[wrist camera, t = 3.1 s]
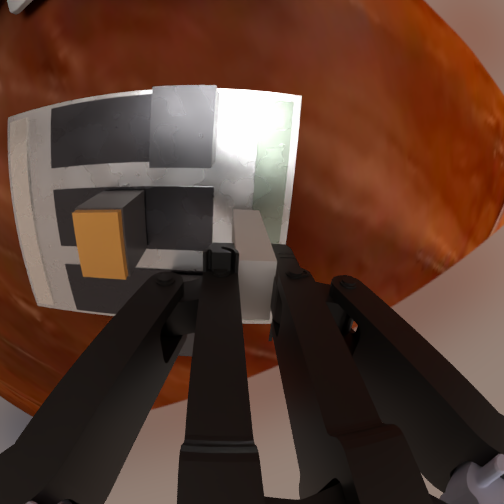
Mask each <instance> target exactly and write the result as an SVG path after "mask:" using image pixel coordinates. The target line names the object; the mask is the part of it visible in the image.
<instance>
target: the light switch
mask: <svg viewBox="0 0 504 504" xmlns="http://www.w3.org/2000/svg"><path fill="white" fill-rule="evenodd" d="M32 1H33V0H7V2H8V6H9V10H10V12H11V13H14V14H18V13H20V12H21V11H22V10H23V9H24V8H25V7H26V6H27V5H28V4H29V3H31V2H32Z"/></svg>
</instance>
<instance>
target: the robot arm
mask: <svg viewBox="0 0 504 504" xmlns="http://www.w3.org/2000/svg"><path fill="white" fill-rule="evenodd" d="M270 312H271V313H272V322H271V329H270V335H269V341H272V337H273V340H274V345H275V350H276V355H277V360H278V365H279V369H280V374H281V379H282V384H283V389H284V394H285V399H286V404H287V409H288V414H289V419H290V424H291V429H292V434H293V439H294V444H295V449H296V454H297V459H298V464H299V469H300V483H299V495H300V500H291V499H281V498H272V497H264V492H263V484H262V476H261V467H260V460H259V453H258V449H257V446H256V445H255V444H254V439H253V432H252V422H251V412H250V402H249V392H248V381H247V370H246V360H245V349H244V337H243V326H242V320H269V319H270ZM353 321H355V322H356V323H357V325H358V327H357V330H356V332H355V331H354V330H353V329H352V328H351V327H352V324H353ZM191 333H195V335H194V344H193V353H192V362H191V372H190V382H189V392H188V404H187V417H186V430H185V440H184V443H183V444H182V445H181V449H180V456H179V470H178V491H177V492H178V493H177V504H504V416H503V415H502V414H500V413H498V411H497V410H496V409H495V408H494V407H493V406H492V405H491V404H490V403H489V402H488V401H487V400H486V399H485V398H484V397H483V396H482V394H481V393H479V391H478V390H477V389H475V387H474V386H473V385H472V384H471V383H470V382H469V381H468V380H467V379H466V378H465V377H464V376H463V375H462V374H461V373H460V372H459V371H458V370H457V369H456V368H455V367H454V366H453V365H452V364H451V363H450V362H448V360H447V359H446V358H444V357H443V356H442V355H441V354H440V353H439V352H438V351H437V350H436V349H435V348H434V347H433V346H432V345H431V344H430V343H429V342H428V341H427V340H425V339H424V338H423V337H422V336H421V335H420V334H419V333H418V332H417V331H416V330H415V329H414V328H413V327H412V326H410V325H409V324H408V323H407V322H406V321H405V320H404V319H403V318H401V317H400V316H399V315H398V314H397V313H396V312H395V311H394V310H393V309H392V308H390V307H389V306H388V305H387V304H386V303H385V302H384V301H383V300H381V299H380V298H379V297H378V296H377V295H376V294H375V293H373V292H372V291H371V290H370V289H369V288H368V287H366V286H365V285H364V284H363V283H362V282H361V281H359V280H357V279H356V278H353V277H352V276H347V275H341V276H336V277H334V278H333V279H332V282H331V285H328V284H323V283H318V282H315V280H314V278H313V277H312V275H311V274H310V272H309V271H307V270H305V269H303V268H300V266H299V264H298V262H297V260H296V259H295V256H294V255H293V252H292V250H291V248H289V247H288V246H287V245H285V244H271V242H270V240H269V237H268V234H267V231H266V228H265V226H264V223H263V220H262V217H261V214H260V212H259V210H241V209H233V224H232V243H217V242H213V243H212V244H211V245H210V246H209V247H208V248H206V249H205V250H204V251H203V275H202V276H201V277H200V278H198V279H195V280H191V281H186V282H183V278H182V276H180V275H179V274H177V273H173V272H159V273H157V274H154V275H152V276H151V277H149V278H148V280H147V281H146V282H145V283H144V284H143V285H142V286H141V287H140V288H139V289H138V290H137V291H136V293H135V294H134V295H133V296H132V297H131V298H130V299H129V300H128V301H127V302H126V304H125V305H124V306H123V307H122V308H121V309H120V310H119V311H118V313H117V314H116V315H115V316H114V317H113V318H112V319H111V320H110V322H109V323H108V324H107V325H106V326H105V327H104V329H103V330H102V331H101V332H100V333H99V334H98V336H97V337H96V338H95V339H94V340H93V341H92V343H91V344H90V345H89V346H88V347H87V349H86V350H85V351H84V352H83V353H82V355H81V356H80V357H79V358H78V359H77V361H76V362H75V363H74V364H73V366H72V367H71V368H70V369H69V371H68V372H67V373H66V374H65V376H64V377H63V378H62V379H61V381H60V382H59V383H58V385H57V386H56V387H55V388H54V390H53V391H52V392H51V394H50V395H49V396H48V398H47V399H46V400H45V402H44V403H43V404H42V406H41V407H40V408H39V410H38V411H37V412H36V414H35V415H34V417H33V418H32V419H31V421H30V422H29V424H28V425H27V427H26V428H25V429H24V431H23V432H22V434H21V435H20V436H19V438H18V439H17V441H16V442H15V444H14V445H12V446H11V447H9V448H8V449H6V450H5V451H4V452H2V453H1V454H0V504H104V503H105V501H106V499H107V497H108V495H109V494H110V492H111V489H112V487H113V485H114V483H115V481H116V479H117V477H118V475H119V473H120V471H121V469H122V467H123V465H124V462H125V460H126V458H127V456H128V454H129V452H130V450H131V448H132V446H133V443H134V442H135V440H136V438H137V436H138V434H139V432H140V429H141V428H142V426H143V424H144V422H145V420H146V418H147V415H148V413H149V412H150V410H151V408H152V406H153V404H154V402H155V400H156V398H157V396H158V394H159V392H160V390H161V388H162V386H163V384H164V382H165V380H166V378H167V376H168V374H169V372H170V370H171V368H172V366H173V364H174V362H175V361H176V359H177V357H178V355H179V353H180V351H181V349H182V347H183V345H184V343H185V341H186V339H187V334H191ZM420 472H421V473H422V475H423V476H424V477H425V478H426V479H427V480H428V481H429V482H430V483H431V484H432V485H433V486H435V487H436V488H437V489H439V490H440V491H442V492H443V494H442V495H441V497H440V499H438V498H436V497H434V496H432V495H430V494H429V493H428V490H427V488H426V485H425V483H424V480H423V478H422V475H421V473H420Z"/></svg>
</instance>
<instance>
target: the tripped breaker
mask: <svg viewBox="0 0 504 504" xmlns="http://www.w3.org/2000/svg"><path fill="white" fill-rule="evenodd" d="M72 216H73V224H74V231H75V237H76V243H77V249H78V254H79V260H80V265H81V269H82V274H83V277H94V278H108V279H123V280H126V278H127V277H130V276H131V274H132V273H133V271H134V269H135V267H136V266H137V264H138V262H139V261H140V259H141V257H142V256H143V254H144V252H145V251H146V249H147V237H146V222H145V201H144V190H118V191H102V192H100V193H99V194H97V195H95V196H94V197H92V198H90V199H89V200H87V201H86V202H84V203H82V204H81V205H79V206H78V207H76V208H75V211H74V212H73V213H72Z"/></svg>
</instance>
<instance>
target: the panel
mask: <svg viewBox="0 0 504 504" xmlns="http://www.w3.org/2000/svg"><path fill="white" fill-rule="evenodd" d="M301 99H302V96H298V95H291V94H284V93H275V92H266V91H255V90H241V89H221V88H217V85H177V86H156V87H153V88H152V90H141V91H130V92H121V93H113V94H106V95H99V96H93V97H87V98H82V99H76V100H71V101H67V102H62V103H58V104H53V105H49V106H45V107H41V108H38V109H34V110H30V111H27V112H24V113H20V114H17V115H14V116H11V117H8V163H9V177H10V187H11V196H12V203H13V210H14V216H15V222H16V228H17V233H18V238H19V242H20V247H21V251H22V255H23V259H24V263H25V267H26V270H27V274H28V277H29V281H30V284H31V287H32V290H33V293H34V296H35V299H36V302H37V305H38V306H43V307H49V308H55V309H62V310H69V311H76V312H83V313H91V314H100V315H109V316H115V315H116V314H117V313H118V311H119V310H120V309H121V308H122V307H123V306H124V305H125V304H126V302H127V301H128V300H129V299H130V298H131V297H132V296H133V295H134V294H135V293H136V291H137V290H138V289H139V288H140V287H141V286H142V285H143V284H144V283H145V282H146V281H147V280H148V278H149V277H151V276H152V275H154V274H157V273H159V272H173V273H177V274H179V275H180V276H182V278H183V282H186V281H191V280H195V279H198V278H200V277H201V276H202V275H203V251H204V250H205V249H206V248H208V247H209V246H210V245H211V244H212V243H213V242H217V243H232V224H233V209H241V210H259V212H260V214H261V217H262V220H263V223H264V226H265V228H266V231H267V234H268V237H269V240H270V242H271V244H285V245H286V238H287V230H288V222H289V214H290V206H291V198H292V189H293V180H294V171H295V162H296V152H297V143H298V132H299V122H300V111H301ZM118 190H144V201H145V222H146V237H147V249H146V251H145V252H144V254H143V256H142V257H141V259H140V261H139V262H138V264H137V266H136V267H135V269H134V271H133V273H132V274H131V276H130V277H127V278H126V280H123V279H108V278H94V277H83V274H82V269H81V265H80V260H79V254H78V249H77V243H76V237H75V231H74V224H73V216H72V213H73V212H74V211H75V208H76V207H78V206H79V205H81V204H82V203H84V202H86V201H87V200H89V199H90V198H92V197H94V196H95V195H97V194H99V193H100V192H102V191H118ZM271 322H272V313H271V312H270V319H269V320H242V323H243V324H271ZM194 335H195V333H191V334H187V339H186V341H185V343H184V345H183V347H182V349H181V351H180V353H179V356H192V353H193V344H194Z"/></svg>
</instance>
